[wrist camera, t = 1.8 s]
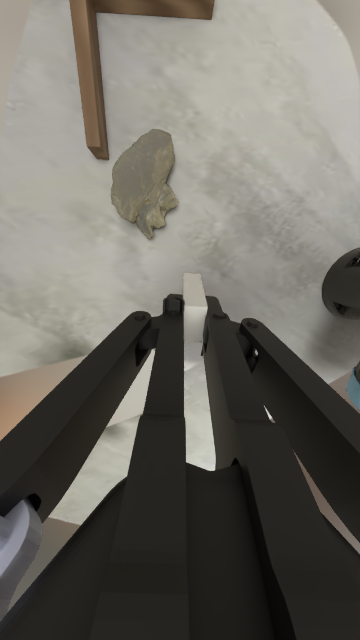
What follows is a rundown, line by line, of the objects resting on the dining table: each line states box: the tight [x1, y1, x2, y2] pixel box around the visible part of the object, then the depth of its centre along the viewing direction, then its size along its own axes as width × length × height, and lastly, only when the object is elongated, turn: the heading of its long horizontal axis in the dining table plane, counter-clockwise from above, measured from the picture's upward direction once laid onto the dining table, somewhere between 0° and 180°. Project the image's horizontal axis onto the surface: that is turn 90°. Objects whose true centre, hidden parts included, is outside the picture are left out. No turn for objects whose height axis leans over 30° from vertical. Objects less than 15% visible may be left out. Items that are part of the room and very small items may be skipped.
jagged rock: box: [111, 129, 179, 239], centre depth 30 cm, size 14×10×10 cm
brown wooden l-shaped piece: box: [70, 0, 214, 160], centre depth 27 cm, size 18×19×4 cm
